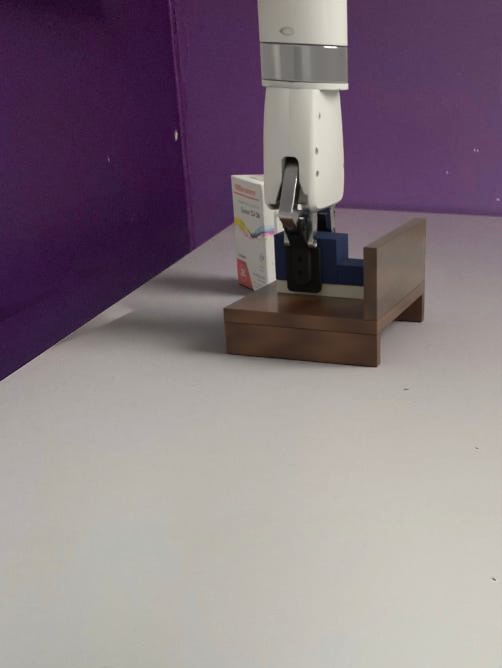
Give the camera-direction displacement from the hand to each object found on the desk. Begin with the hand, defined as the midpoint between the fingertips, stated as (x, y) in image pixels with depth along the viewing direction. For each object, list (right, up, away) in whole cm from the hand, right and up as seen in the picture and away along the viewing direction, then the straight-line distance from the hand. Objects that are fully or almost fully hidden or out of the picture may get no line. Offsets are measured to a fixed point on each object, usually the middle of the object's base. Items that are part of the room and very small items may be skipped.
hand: (312, 284), depth 99 cm
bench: (+2, -4, +2) cm, 5 cm away
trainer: (+2, -1, 0) cm, 2 cm away
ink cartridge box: (-8, +6, +20) cm, 23 cm away
